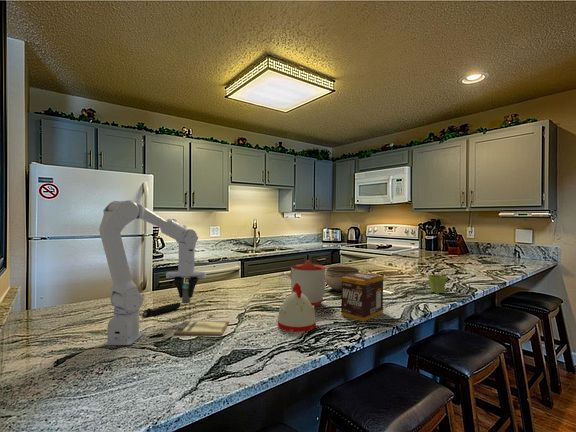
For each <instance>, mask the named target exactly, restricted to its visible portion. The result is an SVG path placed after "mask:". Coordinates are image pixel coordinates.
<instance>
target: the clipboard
mask: <svg viewBox="0 0 576 432" xmlns="http://www.w3.org/2000/svg"><path fill="white" fill-rule="evenodd" d="M229 324H230V321H229V320H227V321H226V320H224V321H223V320H221V321H220V320H218V321H217V320H213V321H212V320H184V321H182V323H180V324H179V326H177V330H175V332H174V333H173V336H218V337H219V336H220V337H221V336H223V335H224V333H225V332H226V329H227V328H228V326H229Z"/></svg>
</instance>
